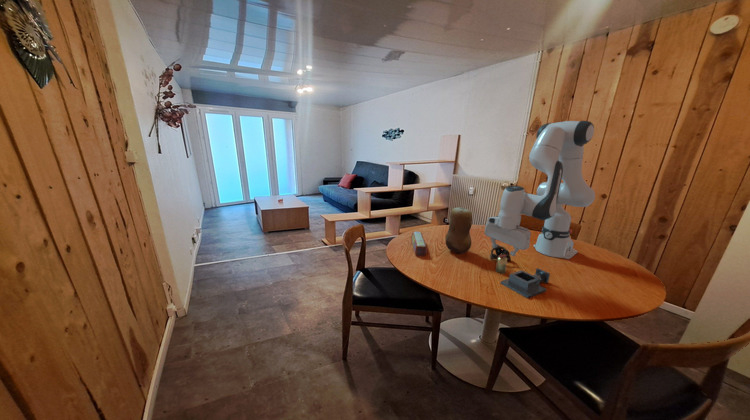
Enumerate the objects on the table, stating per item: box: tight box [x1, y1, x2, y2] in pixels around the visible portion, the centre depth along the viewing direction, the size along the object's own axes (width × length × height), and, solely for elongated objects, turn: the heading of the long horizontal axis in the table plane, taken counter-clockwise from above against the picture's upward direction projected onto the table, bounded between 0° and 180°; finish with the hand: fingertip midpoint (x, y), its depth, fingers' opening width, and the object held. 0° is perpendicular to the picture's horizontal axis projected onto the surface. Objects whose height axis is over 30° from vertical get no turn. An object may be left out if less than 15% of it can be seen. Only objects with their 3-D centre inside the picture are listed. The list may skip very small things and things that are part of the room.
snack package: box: [411, 231, 428, 257], centre depth 139 cm, size 21×7×7 cm, turn 176°
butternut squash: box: [445, 207, 473, 255], centre depth 133 cm, size 14×13×25 cm
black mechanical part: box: [489, 244, 512, 262], centre depth 128 cm, size 12×10×8 cm
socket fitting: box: [500, 268, 551, 299], centre depth 104 cm, size 19×12×5 cm, turn 116°
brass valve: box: [495, 254, 508, 275], centre depth 114 cm, size 5×4×8 cm
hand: (503, 251), depth 113 cm, fingers open, 8 cm apart
